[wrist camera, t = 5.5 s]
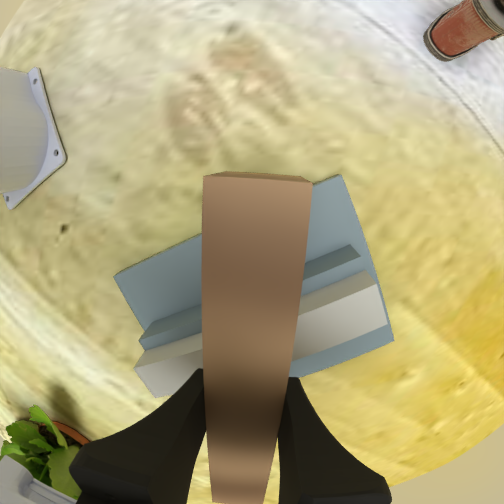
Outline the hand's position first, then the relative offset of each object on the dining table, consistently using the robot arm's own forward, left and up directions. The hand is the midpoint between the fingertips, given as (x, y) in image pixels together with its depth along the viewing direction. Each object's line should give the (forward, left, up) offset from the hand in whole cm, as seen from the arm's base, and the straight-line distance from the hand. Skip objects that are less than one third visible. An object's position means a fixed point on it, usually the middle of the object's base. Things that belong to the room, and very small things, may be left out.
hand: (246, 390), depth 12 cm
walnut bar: (0, 0, -2) cm, 2 cm away
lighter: (-13, +22, -8) cm, 27 cm away
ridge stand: (0, 0, -8) cm, 8 cm away
